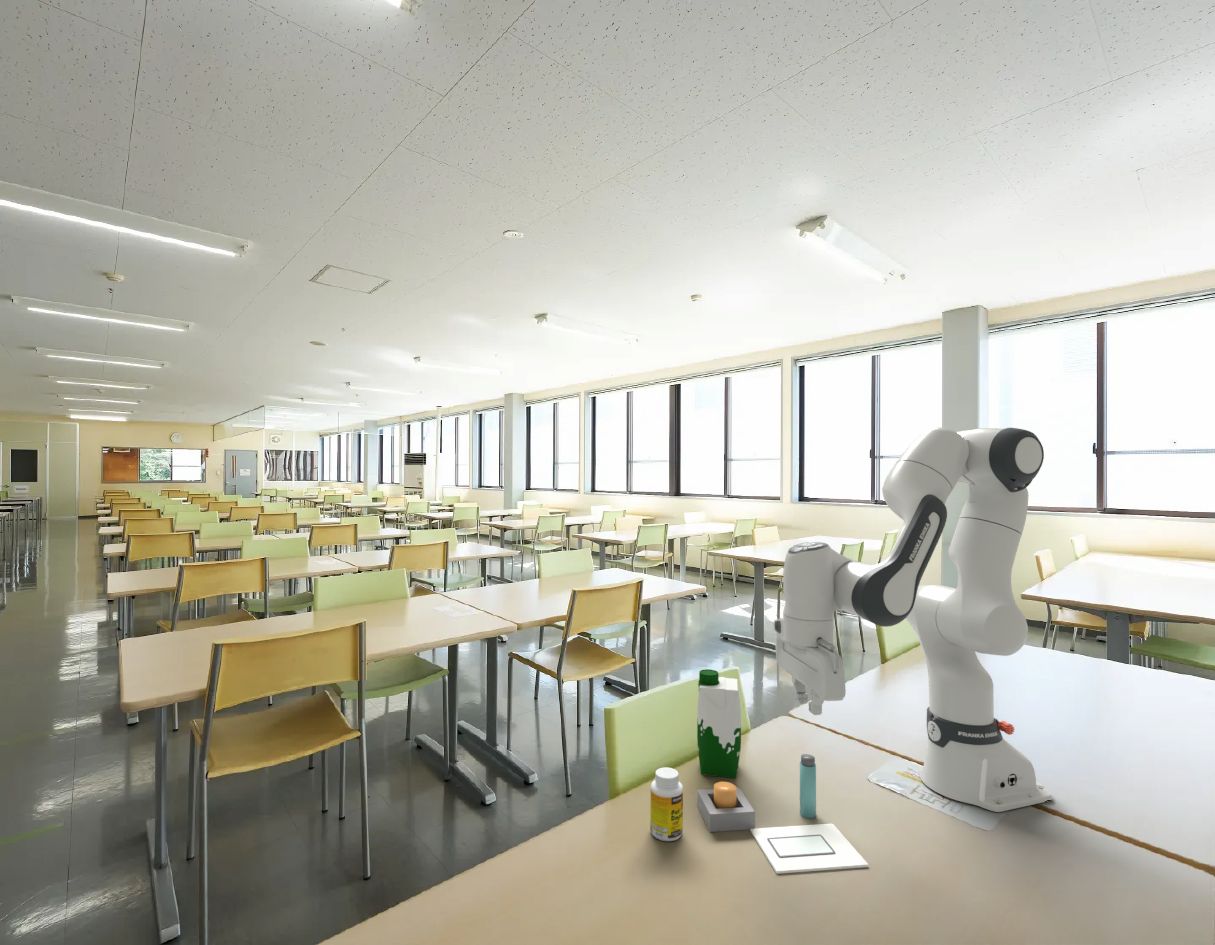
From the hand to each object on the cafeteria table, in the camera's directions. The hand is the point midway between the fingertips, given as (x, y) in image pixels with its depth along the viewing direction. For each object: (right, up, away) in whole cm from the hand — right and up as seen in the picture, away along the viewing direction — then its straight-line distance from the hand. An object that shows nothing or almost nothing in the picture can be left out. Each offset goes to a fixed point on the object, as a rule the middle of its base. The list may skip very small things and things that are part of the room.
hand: (808, 707), depth 105 cm
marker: (0, -19, -1) cm, 19 cm away
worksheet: (-4, -19, -11) cm, 22 cm away
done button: (-16, -17, -2) cm, 23 cm away
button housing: (-16, -19, -2) cm, 25 cm away
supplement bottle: (-27, -19, -7) cm, 33 cm away
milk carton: (-13, -20, +16) cm, 29 cm away
